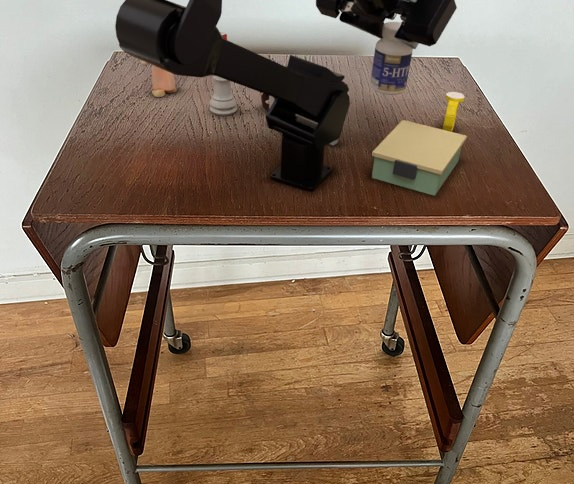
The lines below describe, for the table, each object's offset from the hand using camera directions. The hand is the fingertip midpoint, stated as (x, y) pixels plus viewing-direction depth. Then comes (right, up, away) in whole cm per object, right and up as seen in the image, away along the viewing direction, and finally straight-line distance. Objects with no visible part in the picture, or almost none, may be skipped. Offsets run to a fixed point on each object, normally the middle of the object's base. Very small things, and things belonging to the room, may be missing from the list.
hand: (400, 41), depth 85 cm
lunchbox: (+2, -18, -1) cm, 19 cm away
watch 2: (+9, -11, +9) cm, 17 cm away
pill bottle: (-1, -6, +4) cm, 7 cm away
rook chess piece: (-26, -7, +12) cm, 30 cm away
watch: (-17, -6, +13) cm, 22 cm away
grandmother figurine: (-37, -2, +17) cm, 41 cm away
